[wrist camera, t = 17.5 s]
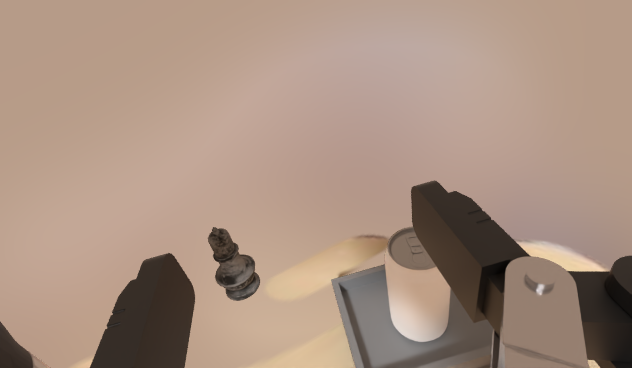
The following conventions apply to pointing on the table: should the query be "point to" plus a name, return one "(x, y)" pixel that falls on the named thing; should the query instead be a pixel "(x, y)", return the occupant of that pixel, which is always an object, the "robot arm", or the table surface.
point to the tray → (389, 344)
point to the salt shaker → (233, 266)
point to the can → (415, 288)
